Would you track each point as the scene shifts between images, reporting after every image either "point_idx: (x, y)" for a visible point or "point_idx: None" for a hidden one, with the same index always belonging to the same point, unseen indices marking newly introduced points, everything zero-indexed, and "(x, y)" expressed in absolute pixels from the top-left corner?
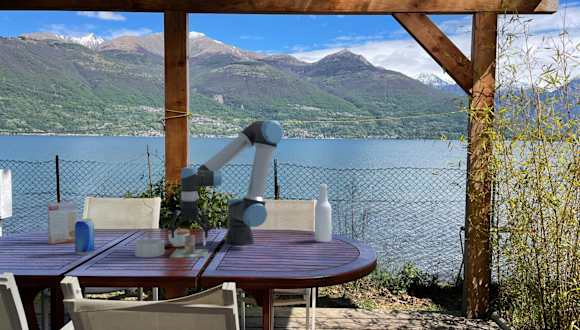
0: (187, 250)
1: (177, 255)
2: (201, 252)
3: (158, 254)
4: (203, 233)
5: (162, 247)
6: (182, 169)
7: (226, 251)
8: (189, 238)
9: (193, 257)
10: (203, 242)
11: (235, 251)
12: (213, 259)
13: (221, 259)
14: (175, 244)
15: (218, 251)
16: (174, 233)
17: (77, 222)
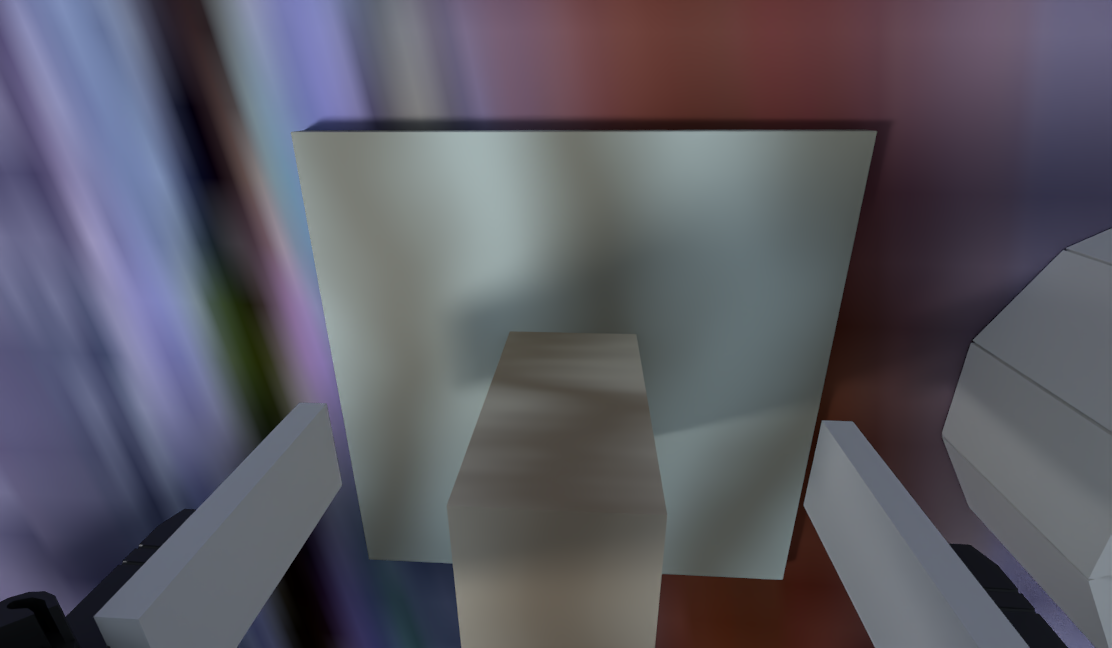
0: (598, 353)
1: (741, 211)
2: (414, 391)
3: (1062, 276)
4: (164, 579)
5: (1058, 400)
6: None
7: (160, 490)
8: (548, 477)
9: (471, 131)
10: (293, 435)
11: (58, 484)
12: (125, 6)
13: (3, 5)
14: (833, 434)
15: None
16: (995, 627)
17: None
